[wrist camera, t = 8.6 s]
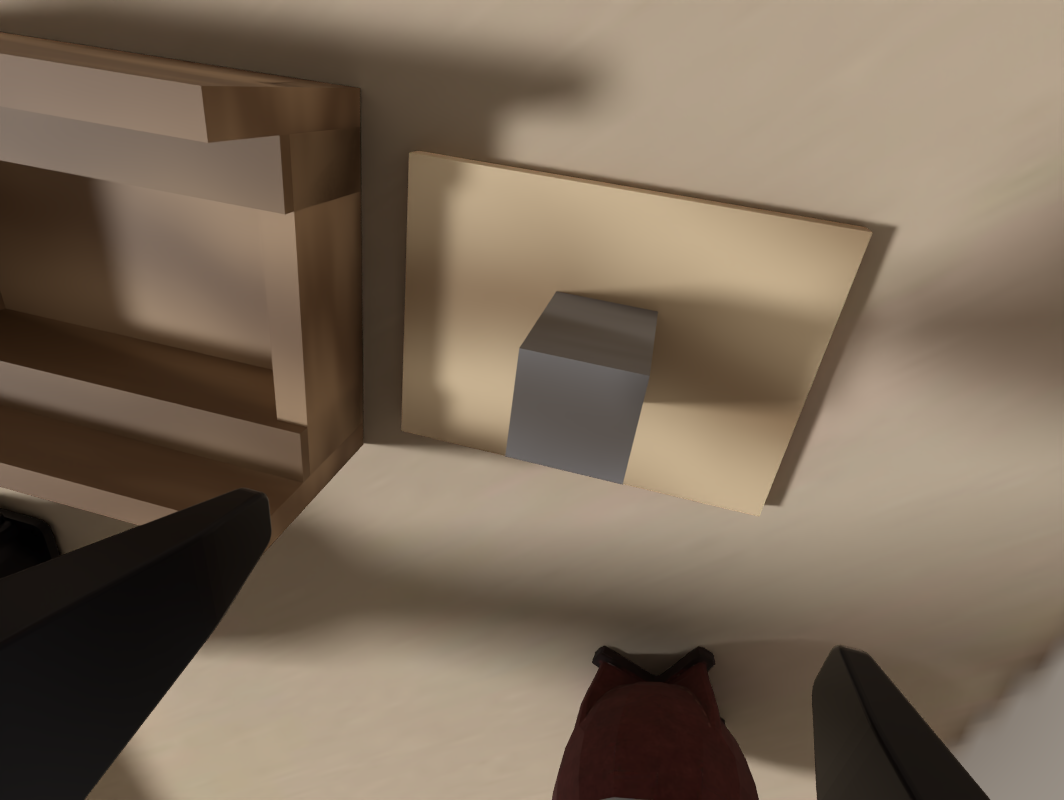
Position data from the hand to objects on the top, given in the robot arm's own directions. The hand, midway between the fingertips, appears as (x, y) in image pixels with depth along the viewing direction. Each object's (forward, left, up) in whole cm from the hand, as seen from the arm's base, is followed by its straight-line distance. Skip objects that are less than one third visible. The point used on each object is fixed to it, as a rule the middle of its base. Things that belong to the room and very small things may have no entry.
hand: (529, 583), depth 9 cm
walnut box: (0, +16, -11) cm, 19 cm away
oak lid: (0, 0, -11) cm, 11 cm away
